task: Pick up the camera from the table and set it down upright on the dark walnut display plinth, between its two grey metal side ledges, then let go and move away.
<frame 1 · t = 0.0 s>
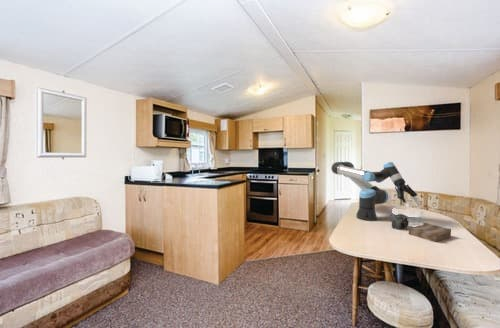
hand: (413, 205, 182), 15 cm above the table, tool tilted 35°, fingers open, 13 cm apart
display plinth: (429, 235, 162), on the table
camera: (399, 227, 179), on the table
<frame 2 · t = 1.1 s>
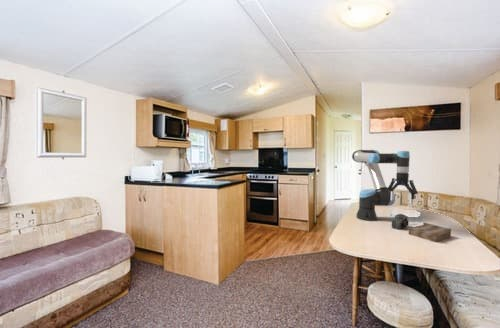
hand: (401, 201, 178), 19 cm above the table, tool pointing down, fingers open, 13 cm apart
nothing on the table moved.
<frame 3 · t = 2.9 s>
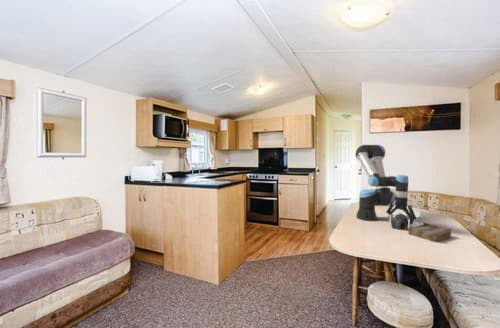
hand: (400, 225, 179), 1 cm above the table, tool pointing down, fingers open, 13 cm apart
nothing on the table moved.
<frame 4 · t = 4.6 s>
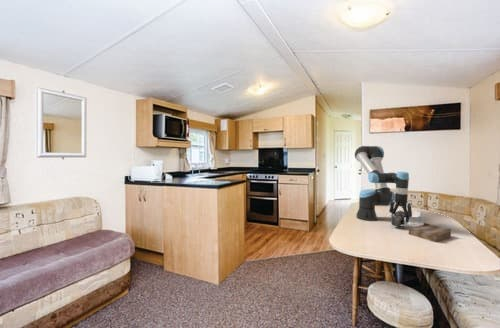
hand: (399, 224, 180), 2 cm above the table, tool pointing down, fingers closed on camera, 8 cm apart
camera: (399, 224, 180), point 2 cm above the table, touching gripper
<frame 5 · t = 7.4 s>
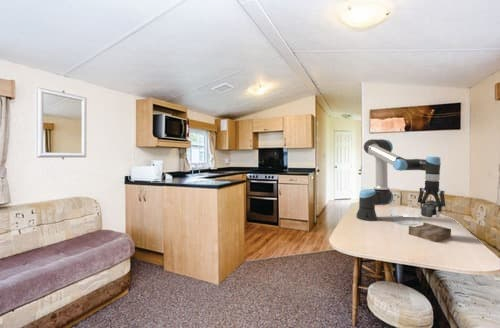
hand: (430, 215, 161), 14 cm above the table, tool pointing down, fingers closed on camera, 8 cm apart
camera: (430, 215, 162), point 13 cm above the table, touching gripper
when the fingers open (5 cm above the table, at t = 10.0 s): camera stays where it is, resting on display plinth.
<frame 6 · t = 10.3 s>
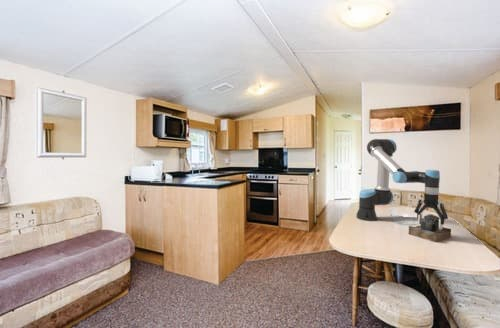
hand: (429, 226, 162), 6 cm above the table, tool pointing down, fingers open, 11 cm apart
camera: (429, 230, 162), point 4 cm above the table, touching display plinth
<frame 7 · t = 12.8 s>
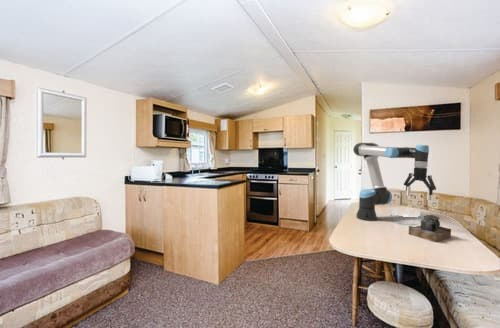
hand: (418, 197, 173), 23 cm above the table, tool pointing down, fingers open, 13 cm apart
nothing on the table moved.
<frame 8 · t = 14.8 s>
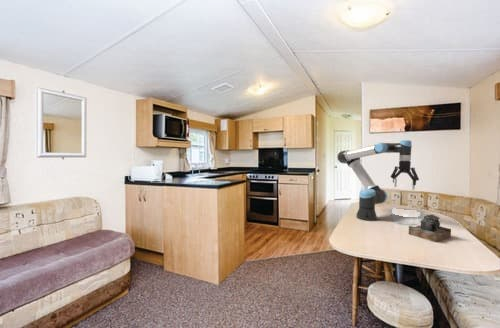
hand: (403, 188, 190), 27 cm above the table, tool pointing down, fingers open, 13 cm apart
nothing on the table moved.
at the end: camera 0.4 cm off-centre on the display plinth, point 3.8 cm above the display plinth's base; camera tilted 0°; the gripper is holding nothing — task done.
